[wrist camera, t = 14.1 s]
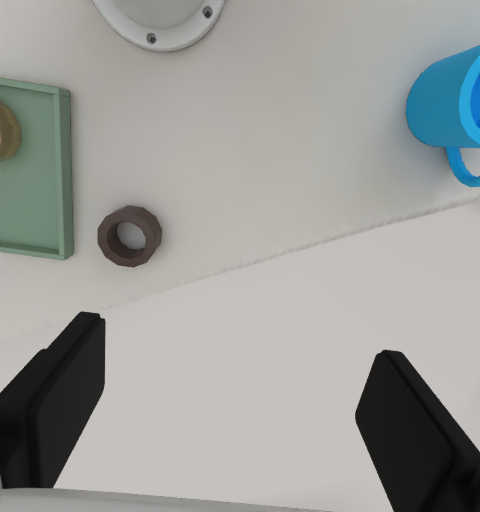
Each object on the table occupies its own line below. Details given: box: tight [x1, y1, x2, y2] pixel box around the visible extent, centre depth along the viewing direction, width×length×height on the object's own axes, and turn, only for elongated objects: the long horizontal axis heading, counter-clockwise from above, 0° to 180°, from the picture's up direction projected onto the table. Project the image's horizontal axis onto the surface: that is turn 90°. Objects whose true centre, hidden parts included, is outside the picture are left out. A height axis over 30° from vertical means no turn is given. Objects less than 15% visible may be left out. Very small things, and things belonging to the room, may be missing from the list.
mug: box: [406, 45, 480, 187], centre depth 29 cm, size 12×8×8 cm
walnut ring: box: [98, 206, 162, 267], centre depth 35 cm, size 6×6×3 cm
